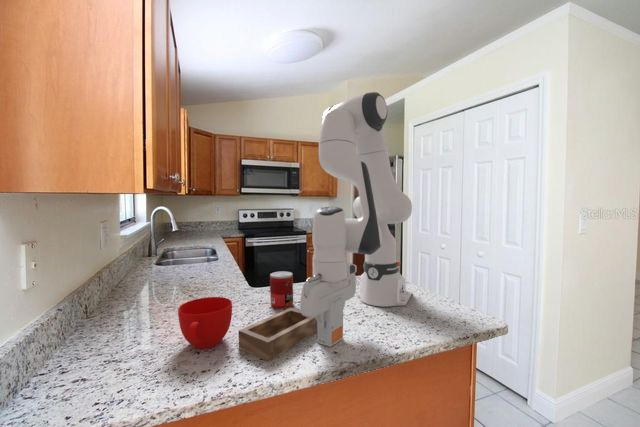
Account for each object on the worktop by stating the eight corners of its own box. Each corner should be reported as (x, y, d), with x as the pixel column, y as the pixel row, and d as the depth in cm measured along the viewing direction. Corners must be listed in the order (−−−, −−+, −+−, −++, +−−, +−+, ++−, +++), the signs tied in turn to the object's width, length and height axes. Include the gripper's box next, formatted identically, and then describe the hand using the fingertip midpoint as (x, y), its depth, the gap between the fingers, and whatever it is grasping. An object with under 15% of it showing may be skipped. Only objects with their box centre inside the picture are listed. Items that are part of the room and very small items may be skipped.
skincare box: (330, 347, 74) (330, 300, 73) (317, 343, 77) (316, 296, 76) (344, 338, 79) (343, 293, 78) (330, 334, 81) (330, 290, 81)
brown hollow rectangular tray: (290, 322, 89) (290, 307, 89) (318, 331, 83) (318, 315, 83) (238, 348, 74) (238, 330, 74) (268, 361, 68) (268, 342, 68)
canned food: (289, 309, 100) (289, 277, 100) (267, 308, 102) (266, 276, 101) (296, 301, 108) (295, 271, 107) (274, 300, 109) (274, 270, 109)
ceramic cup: (162, 366, 66) (161, 322, 66) (190, 333, 83) (189, 297, 83) (222, 364, 67) (221, 320, 67) (237, 331, 84) (236, 295, 84)
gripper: (314, 281, 67) (315, 342, 67) (359, 264, 83) (360, 313, 84) (293, 277, 70) (294, 334, 71) (340, 262, 87) (341, 309, 87)
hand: (330, 323), depth 78 cm, fingers closed on skincare box, 6 cm apart
